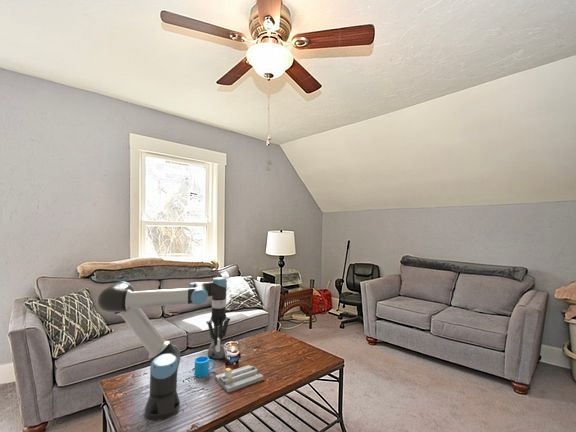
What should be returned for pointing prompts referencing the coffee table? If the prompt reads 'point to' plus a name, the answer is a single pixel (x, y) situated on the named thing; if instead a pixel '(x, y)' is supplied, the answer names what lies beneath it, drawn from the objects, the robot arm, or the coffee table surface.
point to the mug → (202, 366)
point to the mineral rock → (214, 353)
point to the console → (239, 378)
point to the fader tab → (228, 373)
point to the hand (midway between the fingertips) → (217, 350)
